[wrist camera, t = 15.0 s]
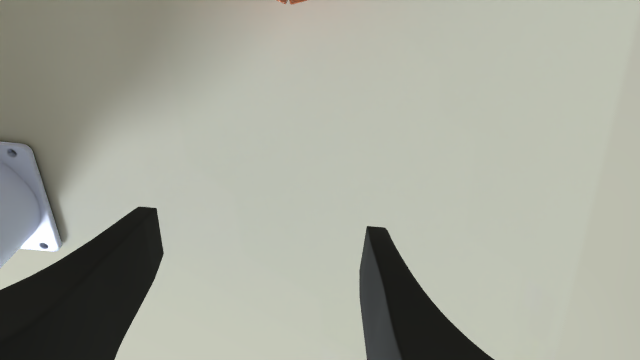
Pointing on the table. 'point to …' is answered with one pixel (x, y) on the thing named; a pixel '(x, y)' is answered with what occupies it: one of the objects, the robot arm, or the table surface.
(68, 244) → the table surface
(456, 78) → the table surface
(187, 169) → the table surface
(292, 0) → the orange and teal bowl
